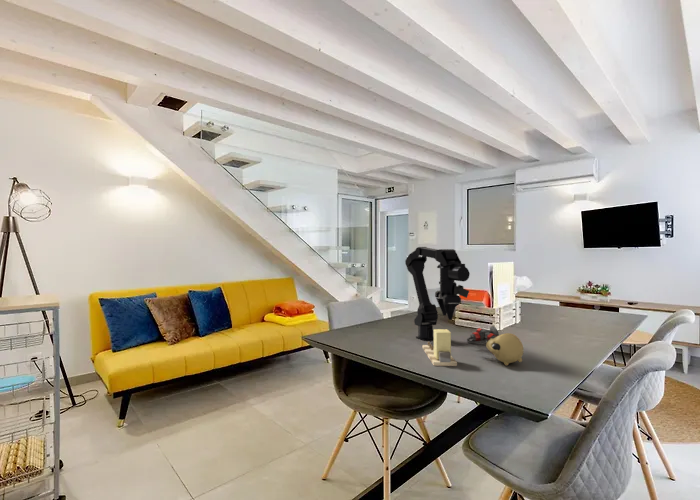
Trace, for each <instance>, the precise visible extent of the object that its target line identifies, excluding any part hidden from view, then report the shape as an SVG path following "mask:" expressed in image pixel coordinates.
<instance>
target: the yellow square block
mask: <svg viewBox="0 0 700 500" xmlns="http://www.w3.org/2000/svg"><path fill="white" fill-rule="evenodd" d="M451 334H452V332H451V331H450V330H449V329H443V328H442V329H441V328H438V329H435V328H434V329H433V337H434V339H433V342H434V356H435V358H436V359H439V351H449V352H450V353H451V354H452V335H451Z"/></svg>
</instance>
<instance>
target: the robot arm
mask: <svg viewBox="0 0 700 500" xmlns="http://www.w3.org/2000/svg"><path fill="white" fill-rule="evenodd" d="M428 258H429V259H430V258H431V259H434V260H435V261H436V262H437V263H439V264H438V265H437V266H436V268H437V269H439V277H440V278H439V281H438V285H439V290H437V291H435V293H434V297H435V299H436V301H437V303H438V306H439V308H440V311H441V313H442V315H443V316H446V317H447V318H448V320H449V321H451V320H453V316H454V313H455V309H456V307H457V306H459V305H460V304H461V303H462V298H461V297H463V298H468V296H469V293H470V290H468V289H466V288H465V287H464V286H463V285H462V284H458V285H457V283H456V282H467V281H468V280H469V278H470V275H471V274H470V271H469V269H468V267H466V263H462V261H461V259H460V258H459V255H458V253H457V251H456V250H455V249H452V248H451V249H450V248H442V249H437V248H430V247H427V246H418V247H417V246H416V248H415V249H414V251H412V252H411V253H409V254H408V256H406V259H405V261H404V262H405V266H406V269H407V271H408V272H409V273H410V275H412V278H413V283H414V287H415V291H416V292H415V293H416V295H417V296H416V297H417V299H418V308H417V315H416V317H415V318H414V321H413V322H414V325H415V326H418V328H417V329H418V332H417V333H418V334H417V336H415V338H416V339H418V340H421V341H433V340H434V329H433V327H434V326H437V323H438V318H439V314H438V310H437V306H436V304H434V303H433V304H432V302H431V300H430V296H429V292H428V288H427V284H426V279H425V277H424V269H425V263H426V262H427V259H428ZM455 281H456V282H455Z"/></svg>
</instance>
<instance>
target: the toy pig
mask: <svg viewBox="0 0 700 500" xmlns="http://www.w3.org/2000/svg"><path fill="white" fill-rule="evenodd" d="M485 346H486V349H487V350H488V351H489V352H490V353H491V354H492V355H493V356H494V358H495V359H496V360H498V361H499V362H501V363H503V364H504V365H505V366H509V364H511V363H512V364H513V363H515V362H519V363H522V362H523V358H522V357H523V355H524V350H525V349H524V348H525V347H524V344H523V342H522V341H521V339H520V338H519V337H518V336H517V335H515V334H514V333H511V332H507V333H502V334H499V336H497V337H495V338H494V339H492V338H491V339H488V340H487V341H486V342H485Z"/></svg>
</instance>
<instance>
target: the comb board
mask: <svg viewBox="0 0 700 500" xmlns="http://www.w3.org/2000/svg"><path fill="white" fill-rule="evenodd" d="M422 350H423V351H424V353H425V354H426V356H427V357H428V359H429V360H430V362H431V364H432V365H433V366H435V367H438V366H439V367H440V366H441V367H448V366H449V367H452V366H453V367H457V366H458V362H457V360H456V359H455V358H454V357H453V356H452V352H451V353H450V352H449V351H439V359H436V358H435V356H434V340H430V341H427V344H422Z"/></svg>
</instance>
